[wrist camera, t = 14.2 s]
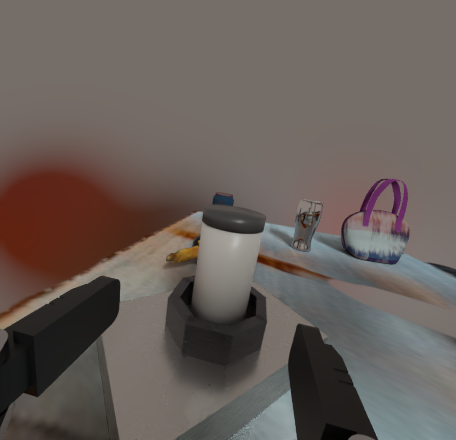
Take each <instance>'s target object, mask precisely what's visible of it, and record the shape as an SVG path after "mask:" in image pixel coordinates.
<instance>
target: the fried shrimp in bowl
mask: <svg viewBox="0 0 456 440" xmlns="http://www.w3.org/2000/svg"><path fill="white" fill-rule="evenodd" d="M200 237H201V235H200V236H198V237H197V238H195V240H194V241H193V245H192V248H186V249H182V250H178V251H177V252H176V253H171V254H170V255H168V256H167V258H166V262H167V263H175V262H176V263H178V262H180V261H184V262H185V261H187V260H190V259H193V258H196V259H198V251H199V244H200Z"/></svg>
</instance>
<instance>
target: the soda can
mask: <svg viewBox="0 0 456 440" xmlns="http://www.w3.org/2000/svg"><path fill="white" fill-rule="evenodd" d="M233 202H234V200H233V195H231V194H226V193H216V195H215V196H214V198H213V204H212V205H228V206H233Z"/></svg>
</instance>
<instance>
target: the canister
mask: <svg viewBox="0 0 456 440" xmlns="http://www.w3.org/2000/svg"><path fill="white" fill-rule="evenodd" d="M265 220H266V216H265V215H263V214H261V213H259V212H256V211H253V210H249V209H245V208H240V207H235V206H228V205H206V206H204V210H203V218H202V221H203V222H202V229H201V237H200V244H199V251H198V259H197V266H196V273H195V281H194V288H193V296H192V303H191V310H190V312H191V313H192V314H193V316H194V317H196V318H200V319H204V320H208V321H212V322H216V323H220V324H224V325H228V326H231V325H233V324H236V323H238V322H241V321H243V320H245V315H246V311H247V306H248V301H249V296H250V291H251V286H252V281H253V276H254V271H255V267H256V262H257V257H258V252H259V247H260V242H261V237H262V232H263V230H264V225H265Z"/></svg>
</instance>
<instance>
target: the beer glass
mask: <svg viewBox="0 0 456 440" xmlns="http://www.w3.org/2000/svg"><path fill="white" fill-rule="evenodd" d="M322 209H323V203H322V202H319V201H314V200H308V199H300V203H299V206H298V209H297V213H296V219H295V233H294V237H293V240H292V242H291V244H290V246H291V247H292V248H294V249H296V250H299V251H303V252H309V251H310V250H311V241H312V237H313V235H314V233H315V230H316V228H317V226H318V224H319V222H320V218H321V214H322Z"/></svg>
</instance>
